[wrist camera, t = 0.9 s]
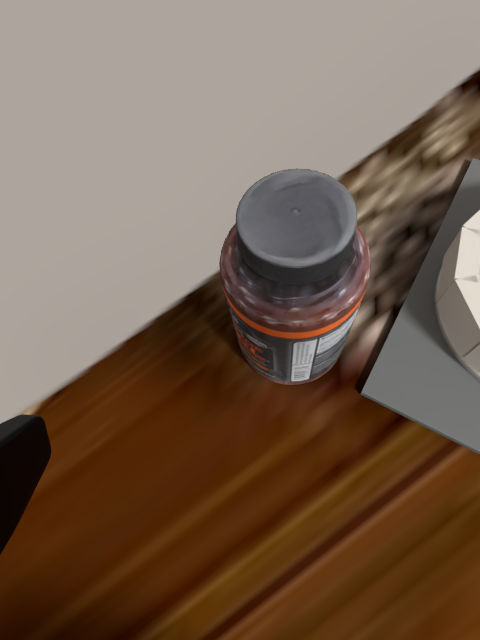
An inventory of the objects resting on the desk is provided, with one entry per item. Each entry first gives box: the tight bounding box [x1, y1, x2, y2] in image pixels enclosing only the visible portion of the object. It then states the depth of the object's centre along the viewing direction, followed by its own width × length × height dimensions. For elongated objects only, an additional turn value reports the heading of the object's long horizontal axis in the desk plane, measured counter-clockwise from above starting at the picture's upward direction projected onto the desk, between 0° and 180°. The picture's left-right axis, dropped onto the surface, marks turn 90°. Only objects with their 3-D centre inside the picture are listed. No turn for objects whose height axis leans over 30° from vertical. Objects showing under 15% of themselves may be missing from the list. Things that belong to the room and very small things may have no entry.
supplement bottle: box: [220, 169, 371, 385], centre depth 18 cm, size 6×6×11 cm
